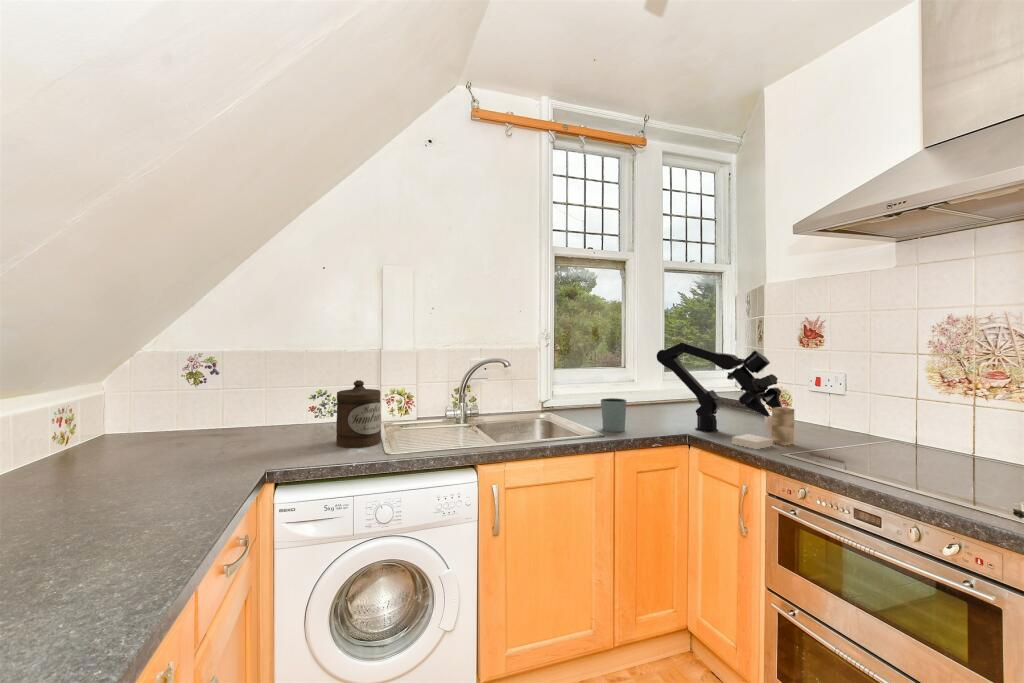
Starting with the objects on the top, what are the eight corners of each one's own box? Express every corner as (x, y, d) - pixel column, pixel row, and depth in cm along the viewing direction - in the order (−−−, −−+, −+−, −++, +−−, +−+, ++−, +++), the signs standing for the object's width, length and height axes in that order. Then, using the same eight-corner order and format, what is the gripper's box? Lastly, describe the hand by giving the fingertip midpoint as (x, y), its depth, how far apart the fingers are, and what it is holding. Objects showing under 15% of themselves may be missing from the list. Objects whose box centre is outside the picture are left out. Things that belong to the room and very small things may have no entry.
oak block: (771, 443, 169) (772, 408, 168) (779, 441, 171) (780, 406, 171) (785, 446, 164) (786, 410, 164) (793, 444, 167) (794, 408, 167)
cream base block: (732, 445, 167) (732, 437, 167) (747, 442, 171) (747, 434, 171) (757, 451, 159) (757, 442, 159) (772, 447, 164) (772, 439, 164)
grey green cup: (624, 433, 184) (625, 402, 184) (598, 431, 188) (598, 400, 187) (627, 428, 194) (627, 398, 194) (602, 426, 197) (602, 397, 197)
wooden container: (355, 450, 157) (355, 383, 156) (327, 444, 165) (327, 380, 164) (389, 441, 169) (389, 379, 169) (362, 436, 177) (361, 377, 177)
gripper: (746, 368, 169) (777, 403, 160) (776, 366, 179) (807, 398, 170) (726, 388, 176) (754, 422, 167) (756, 385, 186) (784, 417, 176)
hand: (776, 414), depth 170 cm, fingers open, 9 cm apart
